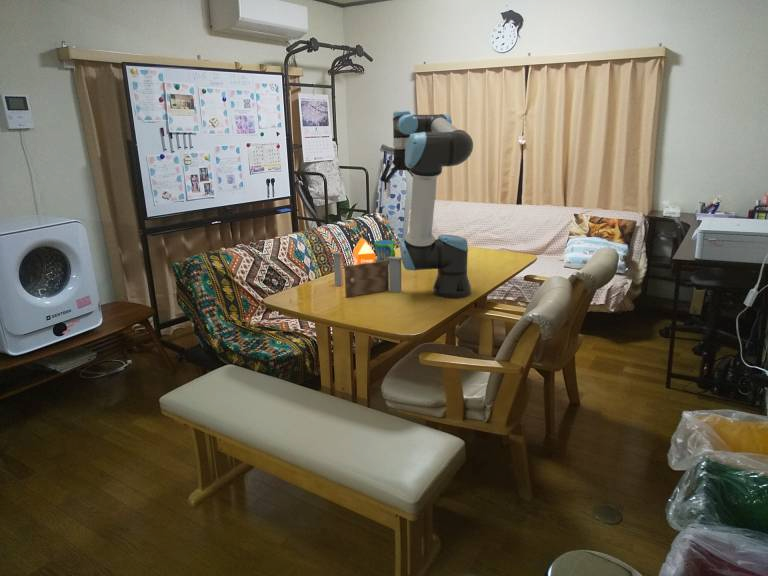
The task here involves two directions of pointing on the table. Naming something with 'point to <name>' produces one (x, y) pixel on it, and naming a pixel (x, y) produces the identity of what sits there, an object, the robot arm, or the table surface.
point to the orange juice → (363, 253)
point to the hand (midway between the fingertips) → (402, 197)
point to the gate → (366, 278)
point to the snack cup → (384, 249)
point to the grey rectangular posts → (393, 272)
